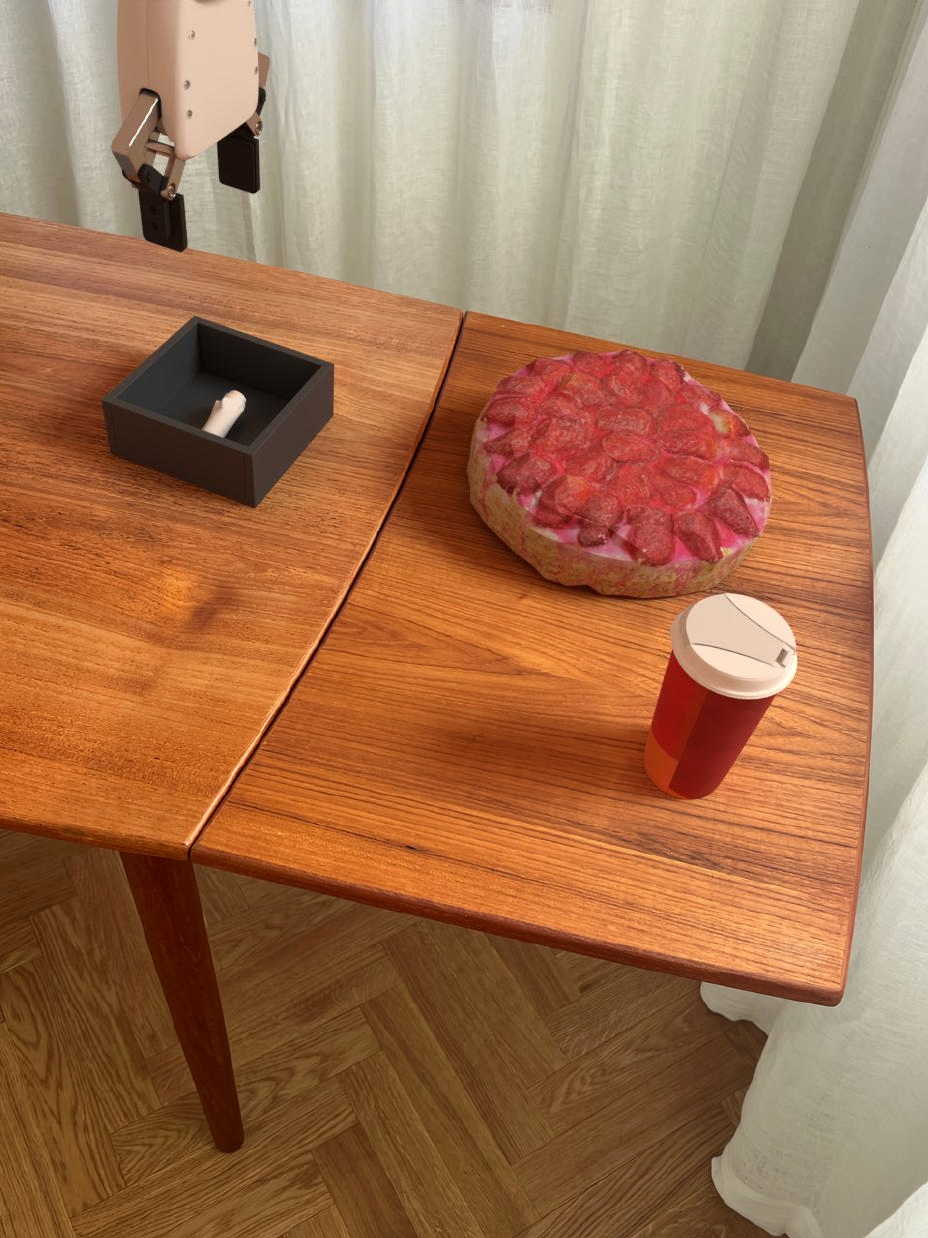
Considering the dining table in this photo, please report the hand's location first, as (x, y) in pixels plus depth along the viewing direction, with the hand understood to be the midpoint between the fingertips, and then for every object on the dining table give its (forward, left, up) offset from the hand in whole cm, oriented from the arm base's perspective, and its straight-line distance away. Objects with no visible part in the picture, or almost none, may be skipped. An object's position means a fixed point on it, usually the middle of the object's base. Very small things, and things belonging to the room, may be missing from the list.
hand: (204, 214), depth 79 cm
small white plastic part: (0, 0, -20) cm, 20 cm away
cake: (+32, +10, -21) cm, 39 cm away
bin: (0, +1, -20) cm, 20 cm away
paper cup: (+45, -14, -21) cm, 52 cm away
